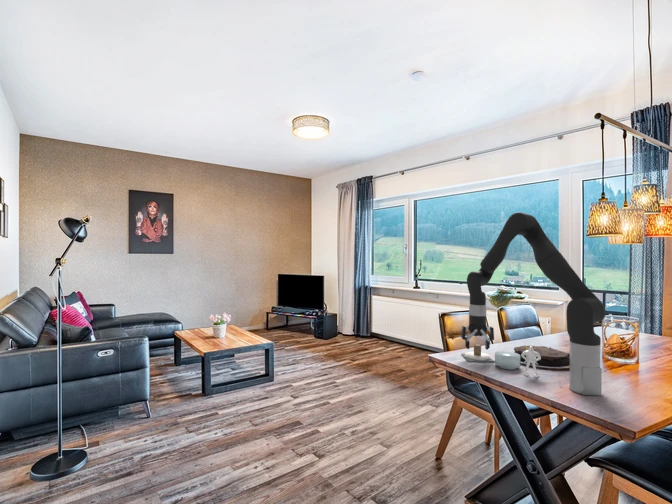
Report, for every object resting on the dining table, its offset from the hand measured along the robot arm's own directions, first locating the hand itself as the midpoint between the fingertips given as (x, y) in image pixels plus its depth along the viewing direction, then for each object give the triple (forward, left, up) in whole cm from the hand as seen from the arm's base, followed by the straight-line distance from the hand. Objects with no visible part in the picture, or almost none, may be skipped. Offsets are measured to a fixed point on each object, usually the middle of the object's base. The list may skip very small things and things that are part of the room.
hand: (477, 348), depth 173 cm
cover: (0, 0, -4) cm, 4 cm away
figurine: (-23, -14, -5) cm, 27 cm away
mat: (0, 0, -4) cm, 4 cm away
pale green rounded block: (-12, -9, -4) cm, 16 cm away
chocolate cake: (-1, -28, -5) cm, 28 cm away
